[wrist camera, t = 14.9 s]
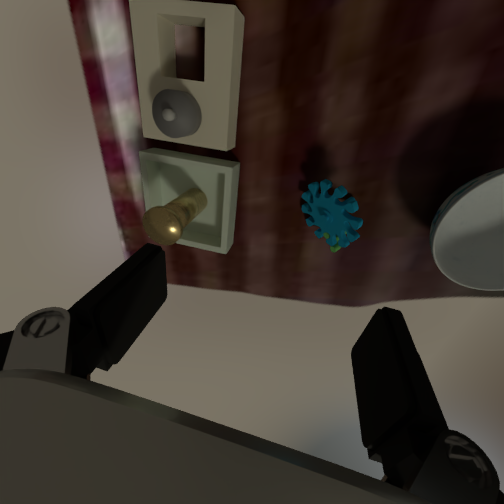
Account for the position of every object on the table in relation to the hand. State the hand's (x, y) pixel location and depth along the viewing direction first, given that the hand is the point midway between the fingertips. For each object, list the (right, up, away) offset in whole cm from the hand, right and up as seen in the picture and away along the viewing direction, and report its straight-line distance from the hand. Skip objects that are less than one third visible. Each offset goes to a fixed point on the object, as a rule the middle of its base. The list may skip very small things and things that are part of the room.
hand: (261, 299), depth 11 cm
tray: (-10, +11, +30) cm, 34 cm away
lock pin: (-10, +11, +30) cm, 33 cm away
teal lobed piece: (+11, +9, +26) cm, 30 cm away
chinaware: (+30, +8, +22) cm, 38 cm away
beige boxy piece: (-8, +25, +22) cm, 34 cm away
